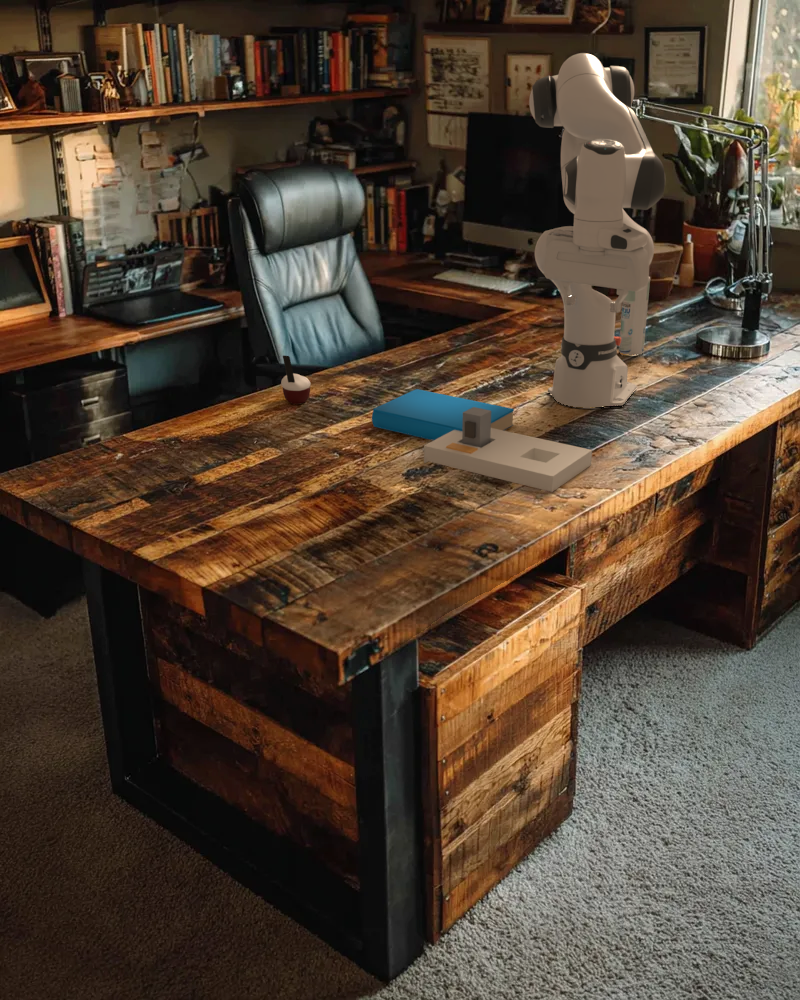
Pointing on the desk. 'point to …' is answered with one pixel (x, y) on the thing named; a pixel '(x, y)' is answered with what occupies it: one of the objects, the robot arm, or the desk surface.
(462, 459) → the socket board
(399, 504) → the desk surface
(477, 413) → the plug
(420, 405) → the book
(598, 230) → the robot arm
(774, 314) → the desk surface
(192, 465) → the desk surface
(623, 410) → the desk surface
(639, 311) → the spray can
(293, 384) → the cocoa
